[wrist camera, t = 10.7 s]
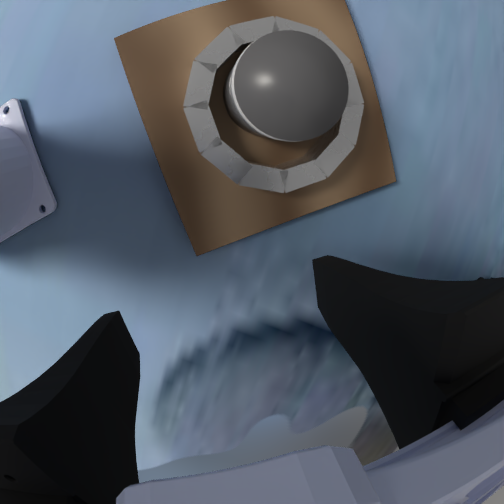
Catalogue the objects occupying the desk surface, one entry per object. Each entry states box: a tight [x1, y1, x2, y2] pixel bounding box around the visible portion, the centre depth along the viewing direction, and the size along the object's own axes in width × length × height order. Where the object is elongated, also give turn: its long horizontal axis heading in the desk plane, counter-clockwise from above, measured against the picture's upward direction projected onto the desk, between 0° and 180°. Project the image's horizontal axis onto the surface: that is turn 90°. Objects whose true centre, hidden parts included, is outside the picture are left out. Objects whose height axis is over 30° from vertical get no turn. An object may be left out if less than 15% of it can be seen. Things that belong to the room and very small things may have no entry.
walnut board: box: [114, 0, 396, 256], centre depth 17 cm, size 14×14×1 cm
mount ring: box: [183, 16, 364, 193], centre depth 16 cm, size 9×9×2 cm
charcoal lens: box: [223, 30, 349, 142], centre depth 14 cm, size 5×5×5 cm
